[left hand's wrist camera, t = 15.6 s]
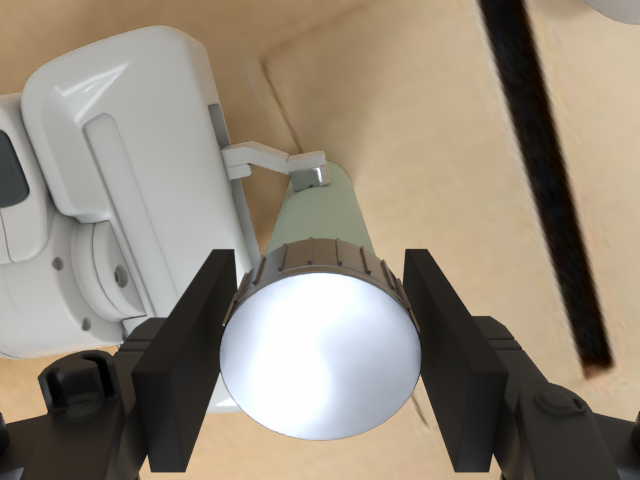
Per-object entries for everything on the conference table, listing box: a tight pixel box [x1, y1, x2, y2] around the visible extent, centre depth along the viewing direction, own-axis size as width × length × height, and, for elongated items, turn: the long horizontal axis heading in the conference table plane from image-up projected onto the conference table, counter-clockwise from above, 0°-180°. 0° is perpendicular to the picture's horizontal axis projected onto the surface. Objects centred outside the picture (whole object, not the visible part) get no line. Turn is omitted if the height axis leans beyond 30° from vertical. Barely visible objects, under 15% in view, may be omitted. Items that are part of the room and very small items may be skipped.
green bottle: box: [265, 161, 375, 256], centre depth 19 cm, size 4×4×17 cm
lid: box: [218, 237, 423, 440], centre depth 11 cm, size 5×5×2 cm
